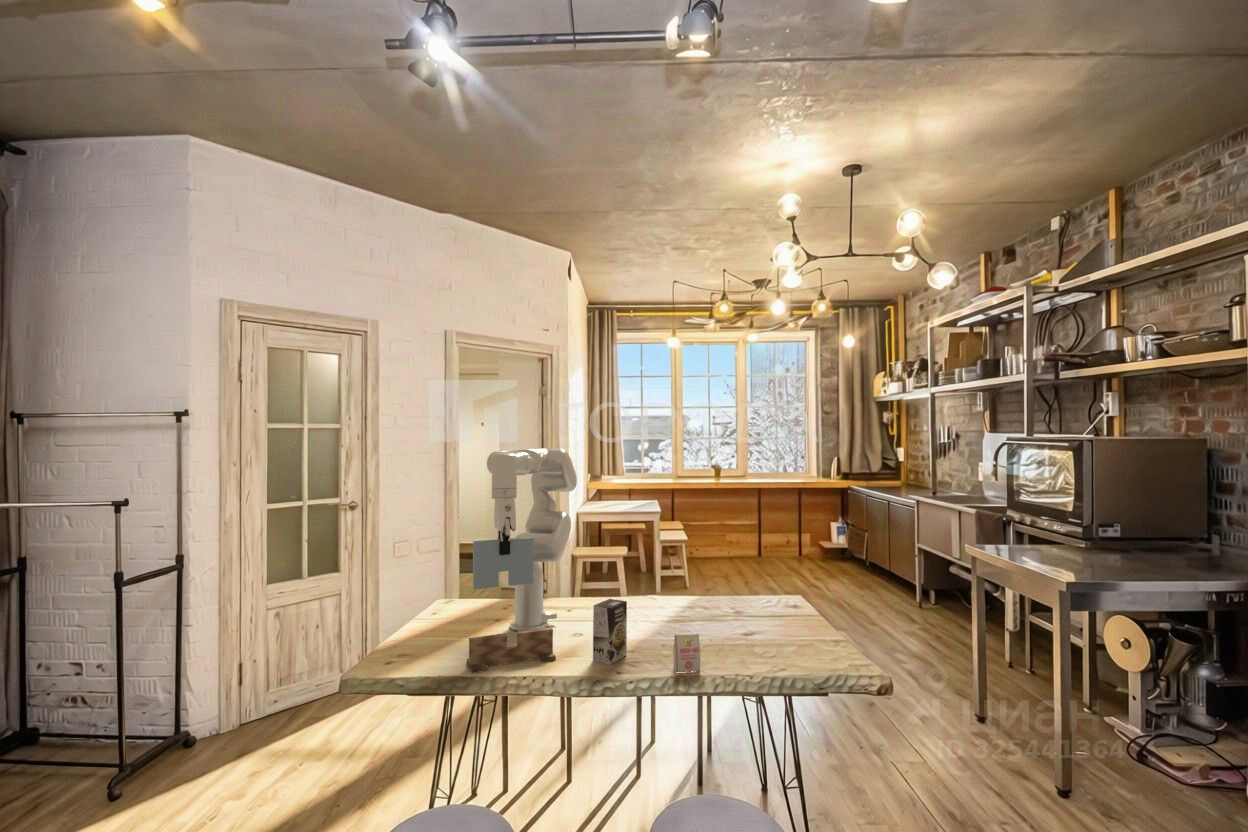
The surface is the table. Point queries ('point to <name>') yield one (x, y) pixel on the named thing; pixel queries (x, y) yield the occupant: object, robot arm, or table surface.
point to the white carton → (686, 653)
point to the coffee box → (609, 631)
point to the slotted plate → (502, 562)
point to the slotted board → (510, 649)
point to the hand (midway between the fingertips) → (503, 553)
